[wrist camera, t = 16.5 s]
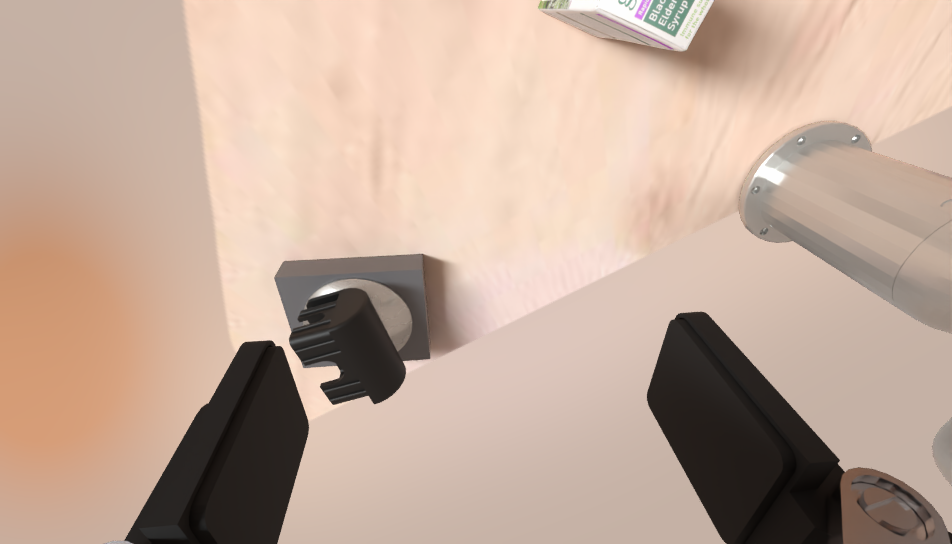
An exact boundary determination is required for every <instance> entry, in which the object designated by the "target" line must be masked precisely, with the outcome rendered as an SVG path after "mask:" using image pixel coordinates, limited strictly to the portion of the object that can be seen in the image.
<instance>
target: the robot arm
mask: <svg viewBox="0 0 952 544" xmlns="http://www.w3.org/2000/svg"><path fill="white" fill-rule="evenodd" d="M739 213H740V216H741V220H742V222H743V224H744V226H745V227H746V228H747V229H748V230H749V231H750V232H751V233H752V234H754V235H755V236H757V237H758V238H760V239H763V240H765V241H769V242H776V243H779V242H790V241H794V242H796V243H797V244H799V245H800V246H802V247H803V248H805V249H807V250H808V251H810V252H811V253H813V254H814V255H816V256H817V257H819V258H821V259H822V260H824V261H825V262H827V263H828V264H830V265H831V266H833V267H835V268H836V269H838V270H839V271H841V272H842V273H844V274H846V275H847V276H849V277H850V278H852V279H853V280H855V281H856V282H858V283H859V284H861V285H863V286H864V287H866V288H867V289H869V290H870V291H872V292H873V293H875V294H877V295H878V296H880V297H881V298H883V299H884V300H886V301H888V302H889V303H891V304H892V305H894V306H895V307H897V308H899V309H900V310H902V311H903V312H905V313H906V314H908V315H910V316H911V317H913V318H914V319H916V320H918V321H920V322H921V323H923V324H925V325H928V326H930V327H932V328H935V329H938V330H941V331H945V332H948V333H952V178H950V177H947V176H944V175H941V174H938V173H935V172H932V171H929V170H926V169H923V168H920V167H917V166H914V165H911V164H907V163H904V162H901V161H898V160H895V159H892V158H889V157H886V156H883V155H880V154H877V153H874V152H872V148H871V144H870V141H869V139H868V138H867V136H866V135H865V133H864V132H862V131H861V130H860V129H858V128H857V127H855V126H852V125H849V124H846V123H842V122H837V121H821V122H817V123H813V124H809V125H806V126H804V127H801V128H799V129H796V130H795V131H793V132H791V133H789V134H788V135H786V136H784V137H783V138H782V139H780V140H779V141H778V142H776V143H775V144H774V145H772V146H771V147H770V148H769V149H768V150H767V151H766V152H765V153H764V154H763V155H762V156H761V157H760V159H759V160H758V161H757V162H756V164H755V165H754V166H753V168H752V169H751V171H750V173H749V174H748V176H747V178H746V180H745V182H744V185H743V187H742V190H741V194H740V199H739ZM647 401H648V405H649V407H650V409H651V411H652V413H653V415H654V416H655V418H656V420H657V422H658V424H659V426H660V427H661V429H662V431H663V433H664V435H665V437H666V438H667V440H668V442H669V444H670V446H671V447H672V449H673V451H674V453H675V455H676V457H677V458H678V460H679V462H680V464H681V465H682V467H683V469H684V471H685V473H686V475H687V477H688V478H689V480H690V482H691V484H692V485H693V487H694V489H695V491H696V493H697V495H698V496H699V498H700V500H701V502H702V504H703V506H704V508H705V509H706V511H707V513H708V515H709V517H710V518H711V520H712V522H713V524H714V526H715V527H716V529H717V531H718V533H719V535H720V536H721V538H722V540H724V542H725V543H727V544H952V533H950V532H948V531H947V528H946V526H945V524H944V521H943V519H942V517H941V516H940V515H939V514H938V512H937V511H936V510H935V508H934V507H933V506H932V504H930V503H929V502H928V501H927V500H926V499H925V498H924V497H923V496H922V495H921V494H919V493H918V492H917V491H916V490H914V489H913V488H911V487H910V486H908V485H907V484H905V483H904V482H902V481H900V480H898V479H896V478H894V477H892V476H890V475H888V474H886V473H883V472H880V471H877V470H874V469H869V468H860V467H858V468H853V469H849V470H847V471H846V472H844V471H843V469H842V468H841V467H840V466H839V465H838V462H839V461H840V460H839V459H838V458H837V457H836V455H835V454H834V453H833V452H832V451H831V450H830V449H829V448H828V447H827V445H826V444H825V443H824V442H823V441H822V440H821V439H820V438H819V437H818V436H817V434H816V433H815V432H814V431H813V430H812V429H811V428H810V427H809V426H808V425H807V423H806V422H805V421H804V420H803V419H802V418H801V417H800V416H799V415H798V414H797V412H796V411H795V410H794V409H793V408H792V407H791V406H790V405H789V403H787V401H786V400H785V399H784V398H783V397H782V396H781V395H780V394H779V392H778V391H777V390H776V389H775V388H774V387H773V386H772V385H771V384H770V382H768V380H767V379H766V378H765V377H764V376H763V375H762V374H761V373H760V371H759V370H758V369H757V368H756V367H755V366H754V365H753V364H752V363H751V362H750V360H749V359H748V358H747V357H746V356H745V355H744V354H743V353H742V352H741V351H740V349H739V348H738V347H737V346H736V345H735V344H734V343H733V342H732V341H731V339H730V338H729V337H728V336H727V335H726V334H725V333H724V332H723V331H722V329H721V328H720V327H719V326H718V325H717V324H716V323H715V322H714V321H713V320H712V318H711V317H710V316H709V315H708V314H706V313H704V312H691V313H680V314H678V315H677V316H676V318H675V319H674V320H671V321H670V323H669V326H668V329H667V332H666V335H665V338H664V341H663V345H662V348H661V351H660V354H659V357H658V360H657V364H656V367H655V370H654V373H653V377H652V379H651V383H650V386H649V389H648V392H647ZM308 431H309V425H308V419H307V416H306V413H305V410H304V407H303V404H302V402H301V399H300V396H299V393H298V390H297V387H296V384H295V381H294V379H293V376H292V373H291V370H290V367H289V364H288V361H287V358H286V356H285V353H284V350H283V348H282V347H281V346H275V344H274V342H273V341H270V340H269V341H254V342H245V343H243V344H242V345H241V347H240V348H239V350H238V352H237V354H236V355H235V357H234V359H233V361H232V362H231V364H230V366H229V368H228V370H227V371H226V373H225V375H224V377H223V379H222V380H221V382H220V384H219V386H218V388H217V389H216V391H215V393H214V395H213V396H212V398H211V400H210V402H209V403H208V404H206V405H205V406H203V407H202V408H201V409H200V411H199V412H198V413H197V415H196V416H195V418H194V420H193V422H192V423H191V425H190V427H189V429H188V430H187V432H186V434H185V436H184V438H183V439H182V441H181V443H180V444H179V446H178V448H177V450H176V451H175V453H174V455H173V457H172V458H171V460H170V462H169V464H168V465H167V467H166V469H165V471H164V472H163V474H162V476H161V478H160V479H159V481H158V483H157V485H156V486H155V488H154V490H153V491H152V493H151V495H150V497H149V499H148V500H147V502H146V504H145V505H144V507H143V509H142V511H141V512H140V514H139V516H138V518H137V519H136V521H135V523H134V525H133V526H132V528H131V530H130V532H129V533H128V535H127V537H126V539H125V540H124V541H112V542H108V543H105V544H277V542H278V539H279V535H280V532H281V528H282V525H283V521H284V517H285V514H286V511H287V507H288V503H289V500H290V497H291V493H292V489H293V486H294V483H295V479H296V476H297V472H298V469H299V465H300V462H301V458H302V455H303V451H304V448H305V444H306V440H307V437H308ZM932 449H933V457H934V460H935V462H936V465H937V467H938V468H939V470H940V472H941V473H942V475H943V476H944V477H945V479H946V480H947V481H948V482H949V483H950V485H951V486H952V418H951V419H950V420H949V421H948V422H947V423H946V424H945V425H944V426H943V427H942V428H941V429H940V430H939V432H938V433H937V434H936V436H935V438H934V441H933V446H932Z"/></svg>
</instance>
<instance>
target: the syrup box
mask: <svg viewBox="0 0 952 544" xmlns="http://www.w3.org/2000/svg"><path fill="white" fill-rule="evenodd" d="M713 2H714V0H541V1H540V4H539V7H538V9H539V10H540V11H542V12H544V13H546V14H548V15H550V16H552V17H555V18H557V19H559V20H561V21H563V22H565V23H567V24H570V25H572V26H574V27H576V28H578V29H580V30H582V31H585V32H587V33H589V34H591V35H593V36H596V37H599V38H611V39H617V40H622V41H627V42H633V43H638V44H642V45H647V46H652V47H656V48H661V49H667V50H673V51H686V50H687V49H688V46H689V44H690V43H691V41H692V39H693V37H694V35H695V34H696V32H697V30H698V28H699V27H700V25H701V23H702V21H703V20H704V18H705V16H706V14H707V13H708V11H709V9H710V7H711V6H712V4H713Z"/></svg>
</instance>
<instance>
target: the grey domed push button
mask: <svg viewBox="0 0 952 544" xmlns="http://www.w3.org/2000/svg"><path fill="white" fill-rule="evenodd" d="M274 279H275V282H276V285H277V288H278V291H279V294H280V297H281V300H282V303H283V306H284V310H285V313H286V316H287V319H288V322H289V325H290V328H291V331H292V330H293V328H297V327H300V326H304V325H307V324H310V323H309V322H308V320H307V321H303V322H299V321H298V320H297V319H298V316H299V314H300V312H301V311H302V310H305V309H307V307H306V305H307V302H308V300H310V299H311V298H315V297H318V296H322V295H325V294H329V293H332V292H336V291H339V290H342V289H346V288H358V289H362V290H363V291H365V292H366V293H367V294H368V296H369V298H370V300H371V302H372V304H373V306H374V308H375V310H376V311H377V313H378V315H379V317H380V319H381V321H382V323H383V325H384V327H385V329H386V331H387V332H388V334H389V336H390V338H391V340H392V342H393V344H394V346H395V348H396V350H397V351H398V353H399V355H400V357H401V359H402V361H409V360H423V359H430V333H429V322H428V311H427V299H426V288H425V277H424V266H423V254H415V255H396V256H377V257H358V258H339V259H320V260H301V261H284V262H283V263H282V265H281V267H280V268H279V270H278V272H277V274H276V275H275V277H274ZM301 362H302V361H301ZM302 365H303V368H311V367H325V366H337V365H336V363H334V362H330V361H322V362H318V363H314V364H311V365H307V366H305V365H304V364H303V363H302Z"/></svg>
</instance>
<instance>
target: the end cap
mask: <svg viewBox="0 0 952 544" xmlns="http://www.w3.org/2000/svg"><path fill="white" fill-rule="evenodd" d="M306 307H307V309H305V310H302V311H301V312H300V314H299V316H298V319H297V320H298V321H299V322H303V321H307V320H308V322H309V323H310V324H307V325H304V326H300V327H297V328H293V330H292V333H291V335H290V338H289V343H290V346H291V347H292V349H293V350H294V352H295V353H296V354H297V356H298V357H299V358H300V360H301V361H302V363H303V364H304V365H305V366H307V365H311V364H314V363H318V362H322V361H330V362H334V363H336V365H337V366H338V368H339V369H340V372H341V374H340V378H338V379H336V380H332V381H329V382H325V383H321V386H320V388H321V389H322V390H323V392H324V393H325V395H326V396H327V397H328V399H329V400H330V402H331V403H332V404H333V405H335V404H339V403H342V402H346V401H350V400H354V399H357V398H361V397H365V396H369V397H370V399H371V400H372V402H373V403H374V404H377V403H380V402H382V401H384V400H386V399H387V398H389V397H390V396H392V395H393V394H394V393H395V392H396V391H397V390H398V389H399V388H400V386H401V384H402V383H403V381H404V379H405V375H406V368H405V365H404V363H403V361H402V359H401V357H400V355H399V353H398V351H397V350H396V348H395V346H394V344H393V342H392V340H391V338H390V336H389V334H388V332H387V331H386V329H385V327H384V325H383V323H382V321H381V319H380V317H379V315H378V313H377V311H376V310H375V308H374V306H373V304H372V302H371V300H370V298H369V296H368V294H367V293H366V292H365V291H363V290H362V289H358V288H346V289H342V290H339V291H336V292H332V293H329V294H325V295H322V296H318V297H315V298H311V299H310V300H308V302H307V305H306Z"/></svg>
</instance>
